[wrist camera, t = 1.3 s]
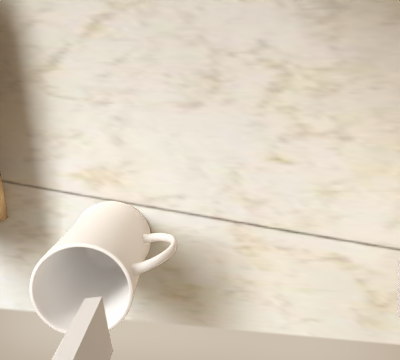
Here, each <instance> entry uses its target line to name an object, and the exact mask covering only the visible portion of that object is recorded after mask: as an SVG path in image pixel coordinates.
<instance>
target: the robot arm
mask: <svg viewBox="0 0 400 360" xmlns="http://www.w3.org/2000/svg"><path fill="white" fill-rule="evenodd" d="M398 316H399V317H400V260H398ZM112 352H113V349H112V345H111V339H110V334H109V329H108V324H107V319H106V314H105V309H104V303H103V298H102V296H101V297H93V298H85V299H84V301H83V303H82V305H81V306H80V308H79V310H78V312H77V314H76V316H75V317H74V319H73V321H72V323H71V325H70V327H69V328H68V330H67V332H66V334H65V336H64V337H63V339H62V341H61V343H60V345H59V347H58V348H57V351H56V352H55V354H54V356H53V358H52V360H110V358H111V355H112Z"/></svg>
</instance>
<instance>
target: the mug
mask: <svg viewBox="0 0 400 360" xmlns="http://www.w3.org/2000/svg"><path fill="white" fill-rule="evenodd" d="M155 241H166V242H170V243H171V245H170V246H169V247H168V248H167V249H166V250H165V251H163V252H162V253H160V254H159V255H157V256H155V257H153V258H151V259H149V260H146V261H144V259H145V258H146V256H147V254H148V252H149V250H150V246H151V242H155ZM176 249H177V242H176V239H175V238H174V237H173V236H172V235H170V234H166V233H152V234H151V232H150V228H149V225H148V223H147V221H146V220H145V218H144V217H143V215H142V214H141V213H140V212H139V211H137V210H136V209H135V208H133V207H132V206H130V205H128V204H125V203H122V202H117V201H106V202H101V203H98V204H95V205H93V206H91V207H90V208H88V209H87V210H86V211H85V212H84V213H83V214H82V215H81V216H80V217H79V219H78V221H77V223H76V224H75V225H74V226H73V227H72V228H71V229H70V230H69V231H68V232H67V233H66V234H65V235H64V236H63V237H62V238H61V239H60V240H59V241H58V242H57V243H56V244H55V245H54V246H53V247H52V248H51V249H50V250H49V251H48V252H47V253H46V254H45V255H44V256H43V257H42V258H41V259H40V261H39V262H38V263H37V265H36V266H35V268H34V270H33V272H32V275H31V279H30V285H29V291H30V298H31V301H32V304H33V307H34V309H35V311H36V312H37V314H38V315H39V316H40V318H41V319H42V320H43V321H44V322H45V323H46V324H47V325H49V326H50V327H51V328H53V329H55V330H57V331H58V332H61V333H63V334H66V332H67V330H68V328H69V327H70V325H71V323H72V321H73V319H74V317H75V316H76V314H77V312H78V310H79V308H80V306H81V305H82V303H83V301H84V299H85V298H93V297H101V296H102V298H103V303H104V309H105V314H106V319H107V324H108V329H109V331H110V330H111V329H113V328H114V327H115V326H117V325H118V324H119V323H120V322H121V321H122V320H123V319H124V318H125V316H126V315H127V313H128V311H129V309H130V307H131V304H132V300H133V297H134V294H135V290H136V287H137V283H138V280H139V276H140V274H141V273H144V272H146V271H148V270H151V269H153V268H155V267H157V266H159V265H160V264H162V263H163V262H165V261H166V260H168V259H169V258H170V257H171V256H172V255H173V254H174V253H175V251H176Z"/></svg>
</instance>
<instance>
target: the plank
mask: <svg viewBox="0 0 400 360" xmlns="http://www.w3.org/2000/svg"><path fill="white" fill-rule="evenodd" d="M7 218H8V213H7V208H6V202H5V196H4V191H3V185H2V179H1V174H0V222H2V221H3V220H5V219H7Z"/></svg>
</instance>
